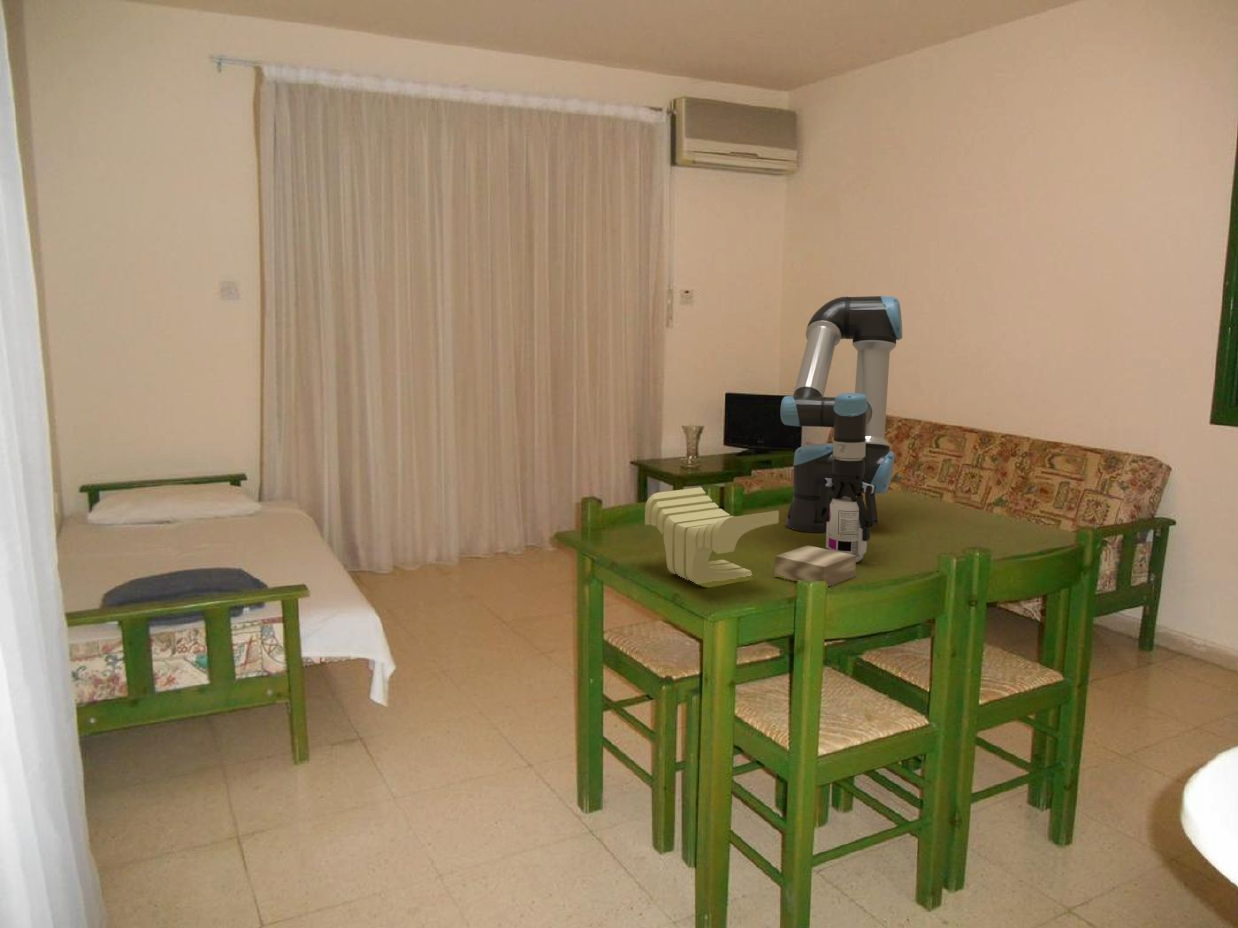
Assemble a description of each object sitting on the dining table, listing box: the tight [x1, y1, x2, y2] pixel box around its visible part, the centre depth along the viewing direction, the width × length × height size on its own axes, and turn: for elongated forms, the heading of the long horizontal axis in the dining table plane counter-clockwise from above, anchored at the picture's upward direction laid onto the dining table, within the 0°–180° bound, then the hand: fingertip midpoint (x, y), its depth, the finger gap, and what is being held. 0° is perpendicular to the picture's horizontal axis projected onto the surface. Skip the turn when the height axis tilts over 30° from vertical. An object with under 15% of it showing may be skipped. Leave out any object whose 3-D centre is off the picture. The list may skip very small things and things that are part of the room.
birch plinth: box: [774, 545, 857, 586], centre depth 210 cm, size 13×13×5 cm
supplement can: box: [828, 496, 864, 563], centre depth 223 cm, size 8×8×15 cm
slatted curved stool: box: [644, 486, 780, 585], centre depth 209 cm, size 30×16×18 cm, turn 29°
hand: (845, 549), depth 224 cm, fingers closed on supplement can, 8 cm apart
